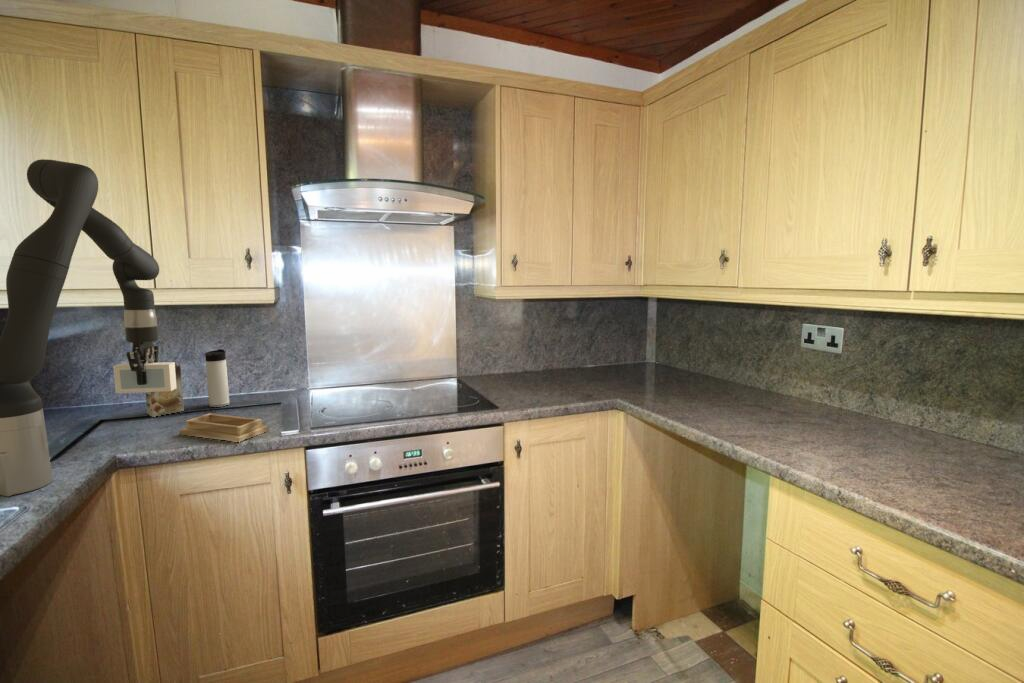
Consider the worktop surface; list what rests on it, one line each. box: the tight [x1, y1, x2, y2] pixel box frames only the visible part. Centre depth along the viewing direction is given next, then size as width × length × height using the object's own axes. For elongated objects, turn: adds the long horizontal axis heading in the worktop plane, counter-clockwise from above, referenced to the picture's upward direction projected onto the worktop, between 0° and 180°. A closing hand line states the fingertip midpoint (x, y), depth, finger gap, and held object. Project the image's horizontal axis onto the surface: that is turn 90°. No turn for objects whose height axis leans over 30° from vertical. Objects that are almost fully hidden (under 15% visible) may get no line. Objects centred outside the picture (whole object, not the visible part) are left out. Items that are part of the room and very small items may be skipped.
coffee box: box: [145, 364, 185, 418], centre depth 165 cm, size 9×6×16 cm
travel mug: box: [204, 348, 230, 408], centre depth 174 cm, size 6×7×20 cm
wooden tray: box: [179, 412, 270, 444], centre depth 146 cm, size 11×22×4 cm, turn 73°
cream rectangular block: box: [112, 361, 177, 394], centre depth 144 cm, size 4×14×8 cm, turn 104°
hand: (146, 382), depth 144 cm, fingers closed on cream rectangular block, 4 cm apart
